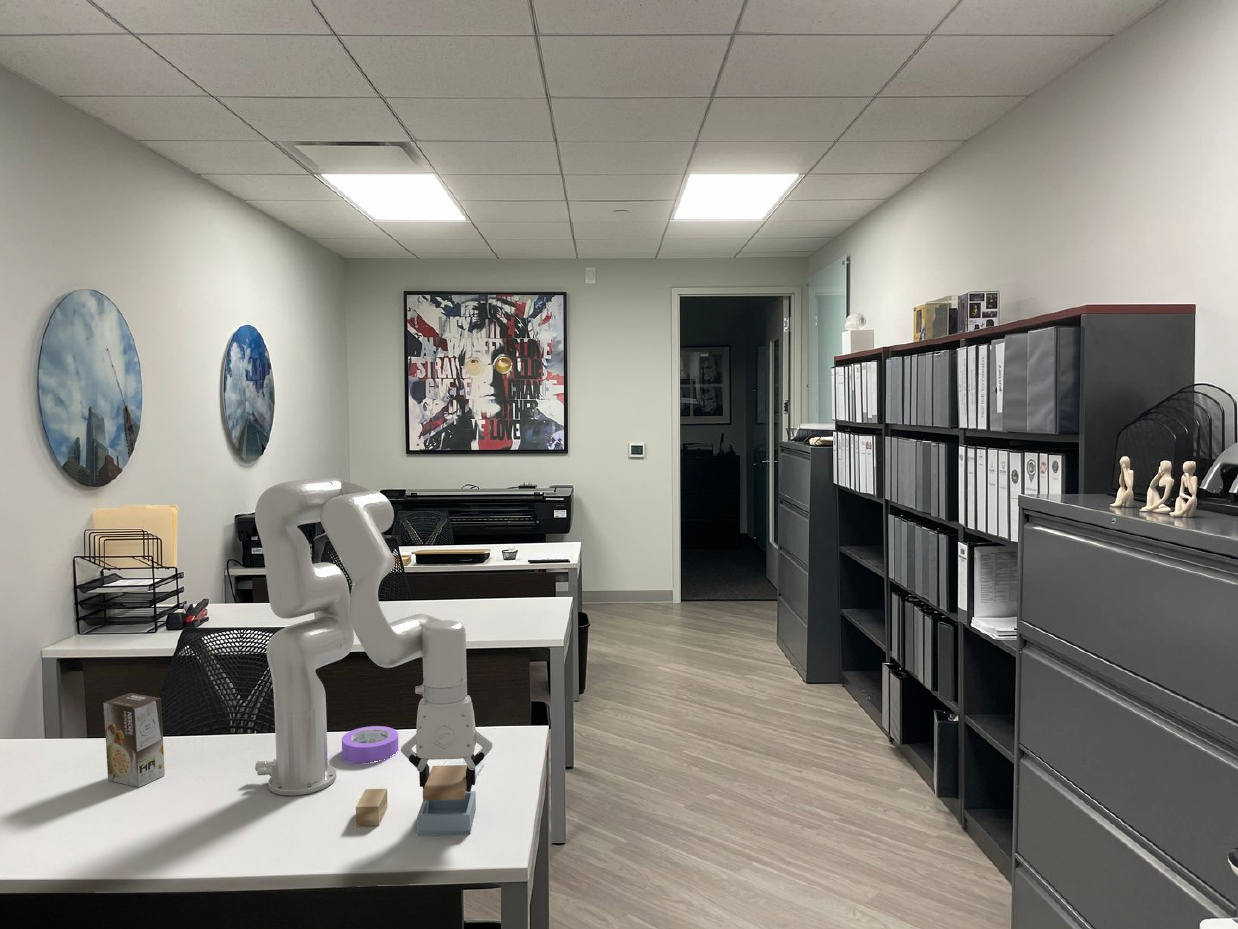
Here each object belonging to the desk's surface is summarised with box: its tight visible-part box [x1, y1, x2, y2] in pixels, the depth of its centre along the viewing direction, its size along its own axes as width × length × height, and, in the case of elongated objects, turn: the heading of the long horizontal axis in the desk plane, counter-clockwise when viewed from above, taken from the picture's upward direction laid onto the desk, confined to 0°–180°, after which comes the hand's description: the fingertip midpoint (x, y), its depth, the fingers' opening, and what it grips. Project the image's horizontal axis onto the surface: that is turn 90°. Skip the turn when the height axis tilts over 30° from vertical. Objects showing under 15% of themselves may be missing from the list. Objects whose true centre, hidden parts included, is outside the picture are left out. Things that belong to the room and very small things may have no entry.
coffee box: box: [103, 692, 166, 788], centre depth 172 cm, size 9×6×16 cm
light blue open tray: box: [416, 790, 477, 836], centre depth 154 cm, size 9×9×4 cm
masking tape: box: [341, 725, 399, 765], centre depth 185 cm, size 12×12×4 cm
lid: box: [422, 765, 467, 802], centre depth 153 cm, size 7×10×2 cm, turn 3°
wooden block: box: [355, 788, 388, 827], centre depth 156 cm, size 4×7×4 cm, turn 3°
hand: (447, 788), depth 154 cm, fingers closed on lid, 7 cm apart
